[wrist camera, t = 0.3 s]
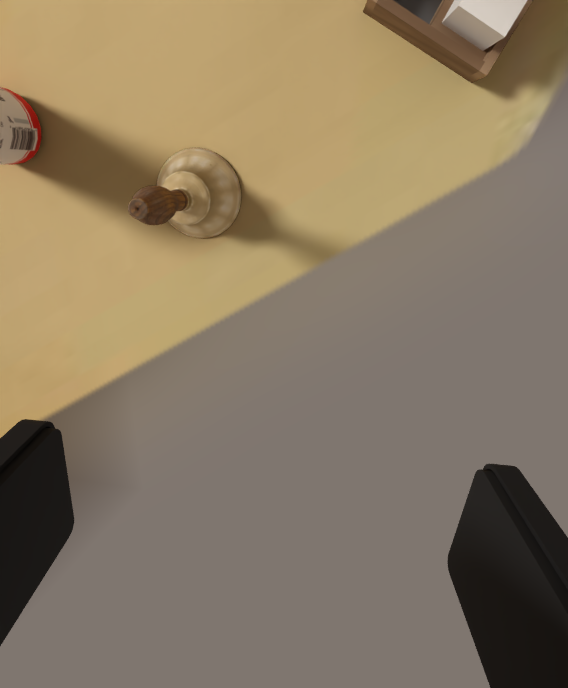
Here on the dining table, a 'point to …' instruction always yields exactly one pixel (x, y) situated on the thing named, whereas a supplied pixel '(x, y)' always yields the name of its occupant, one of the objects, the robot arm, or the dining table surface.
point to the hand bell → (191, 194)
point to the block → (482, 19)
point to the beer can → (17, 129)
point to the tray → (438, 34)
